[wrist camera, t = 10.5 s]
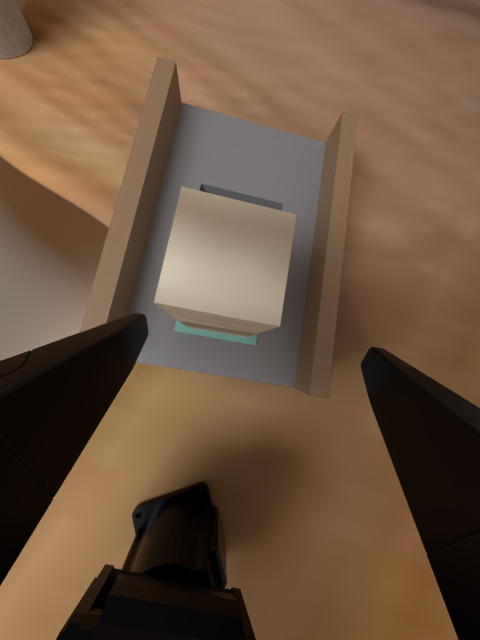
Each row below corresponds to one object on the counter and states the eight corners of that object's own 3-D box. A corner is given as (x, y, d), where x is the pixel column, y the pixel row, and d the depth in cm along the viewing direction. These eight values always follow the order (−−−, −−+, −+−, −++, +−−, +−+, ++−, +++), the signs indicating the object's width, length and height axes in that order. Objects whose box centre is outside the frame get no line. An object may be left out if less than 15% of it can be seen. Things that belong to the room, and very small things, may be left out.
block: (244, 337, 18) (280, 326, 9) (186, 327, 18) (153, 302, 8) (254, 282, 19) (296, 214, 9) (198, 271, 19) (181, 186, 9)
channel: (297, 384, 22) (328, 397, 16) (114, 354, 20) (72, 357, 14) (324, 169, 25) (358, 115, 19) (171, 129, 24) (157, 56, 18)
